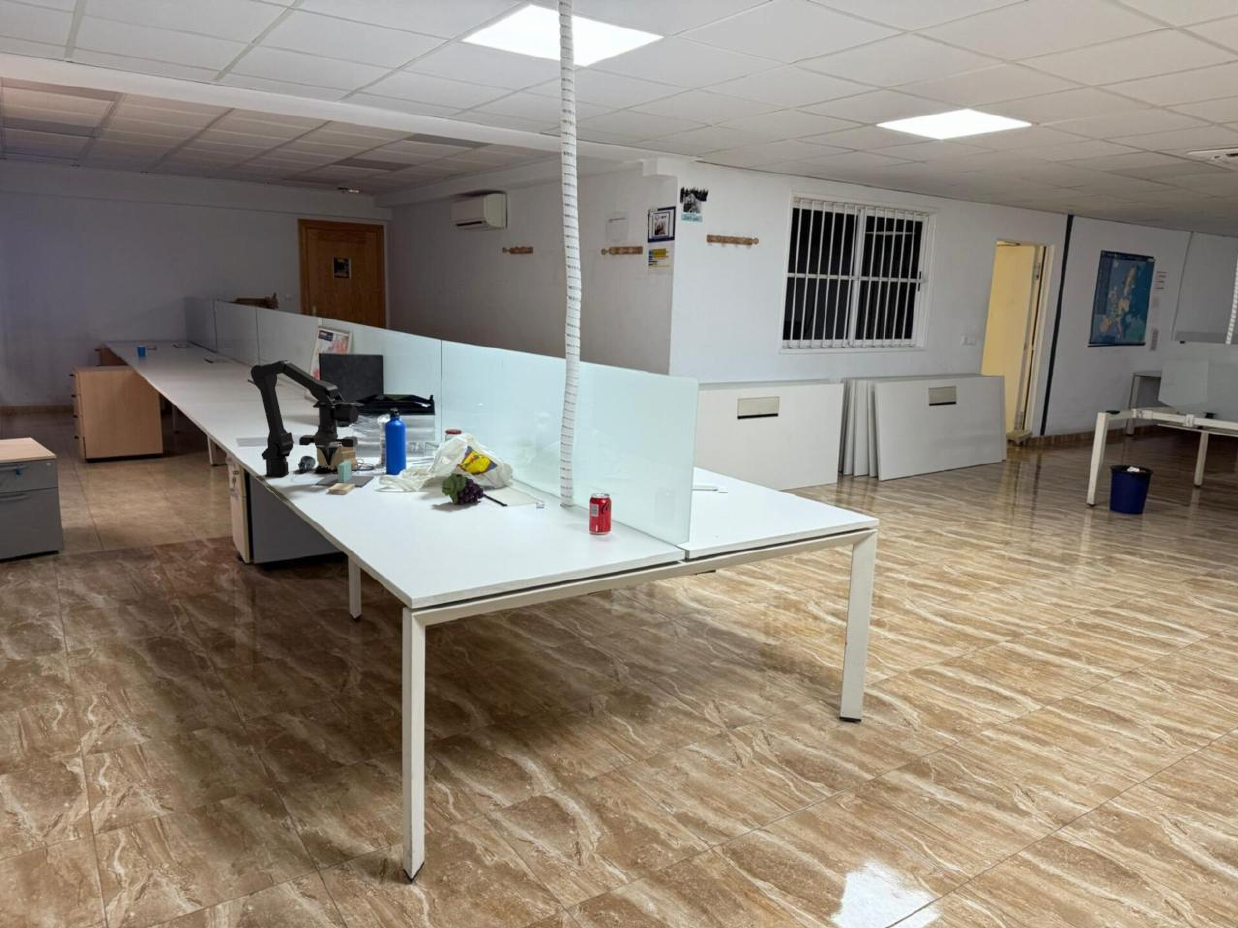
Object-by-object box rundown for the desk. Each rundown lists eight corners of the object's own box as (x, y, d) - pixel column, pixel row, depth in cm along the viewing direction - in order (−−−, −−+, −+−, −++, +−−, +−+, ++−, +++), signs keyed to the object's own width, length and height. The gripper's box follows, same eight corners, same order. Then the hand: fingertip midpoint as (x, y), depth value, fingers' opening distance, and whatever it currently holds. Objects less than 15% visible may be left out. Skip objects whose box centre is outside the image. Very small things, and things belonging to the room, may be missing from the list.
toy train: (346, 474, 315) (345, 447, 313) (315, 467, 324) (314, 440, 322) (358, 471, 320) (357, 445, 318) (327, 464, 329) (326, 438, 326)
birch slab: (328, 494, 288) (328, 488, 287) (337, 488, 296) (337, 483, 295) (346, 495, 288) (346, 489, 287) (354, 489, 295) (354, 484, 295)
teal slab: (338, 482, 300) (337, 465, 299) (345, 477, 308) (345, 460, 307) (344, 482, 300) (343, 465, 299) (351, 477, 308) (350, 460, 307)
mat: (315, 485, 297) (315, 483, 297) (329, 476, 311) (329, 474, 311) (362, 487, 297) (362, 485, 297) (373, 477, 311) (373, 476, 311)
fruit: (484, 511, 285) (445, 506, 275) (469, 499, 292) (430, 494, 282) (494, 483, 283) (455, 476, 273) (478, 471, 291) (440, 465, 280)
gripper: (292, 423, 292) (294, 469, 295) (347, 426, 292) (348, 471, 295) (304, 418, 303) (306, 462, 306) (357, 420, 303) (358, 464, 306)
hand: (329, 465), depth 303 cm, fingers closed
